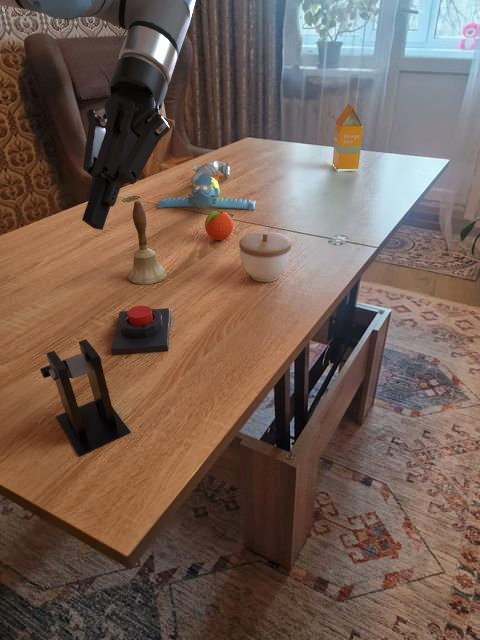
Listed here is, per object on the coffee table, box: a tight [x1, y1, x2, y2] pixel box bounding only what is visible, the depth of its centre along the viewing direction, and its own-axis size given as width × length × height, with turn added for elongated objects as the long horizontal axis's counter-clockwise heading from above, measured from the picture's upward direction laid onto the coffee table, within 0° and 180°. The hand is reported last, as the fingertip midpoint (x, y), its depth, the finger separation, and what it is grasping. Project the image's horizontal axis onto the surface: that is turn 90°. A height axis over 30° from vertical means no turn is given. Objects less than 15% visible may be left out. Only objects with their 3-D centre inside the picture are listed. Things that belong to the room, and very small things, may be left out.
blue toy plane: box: [157, 174, 256, 211], centre depth 136 cm, size 28×9×15 cm
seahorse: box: [190, 160, 231, 185], centre depth 158 cm, size 5×12×20 cm
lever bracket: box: [45, 339, 132, 458], centre depth 62 cm, size 9×7×13 cm
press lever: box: [39, 353, 90, 379], centre depth 63 cm, size 11×6×2 cm
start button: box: [127, 305, 153, 326], centre depth 81 cm, size 4×4×2 cm
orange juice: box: [332, 104, 364, 170], centre depth 166 cm, size 8×9×20 cm
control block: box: [110, 307, 172, 356], centre depth 82 cm, size 9×12×4 cm
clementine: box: [204, 210, 234, 241], centre depth 117 cm, size 8×7×7 cm
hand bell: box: [127, 200, 168, 285], centre depth 98 cm, size 8×8×16 cm
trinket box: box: [238, 231, 292, 283], centre depth 100 cm, size 11×11×9 cm
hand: (92, 224), depth 66 cm, fingers closed
